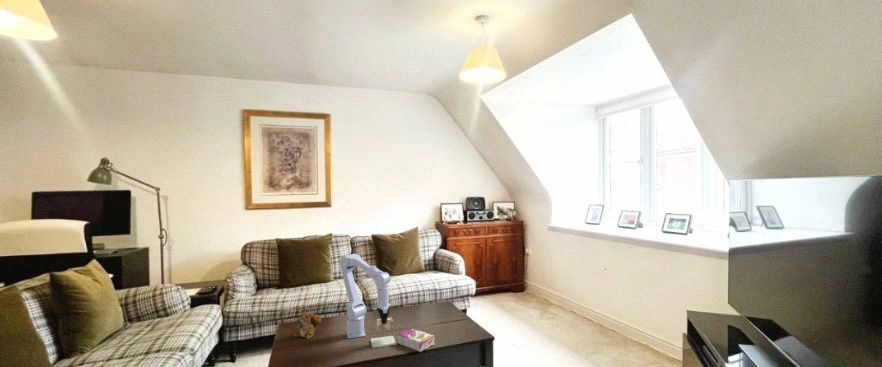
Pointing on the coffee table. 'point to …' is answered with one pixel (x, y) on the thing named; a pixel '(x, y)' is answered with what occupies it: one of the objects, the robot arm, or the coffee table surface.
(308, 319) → the stuffed squirrel
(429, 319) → the coffee table surface
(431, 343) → the candy bar box
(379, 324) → the wooden t-shaped block
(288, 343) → the coffee table surface
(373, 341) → the board
